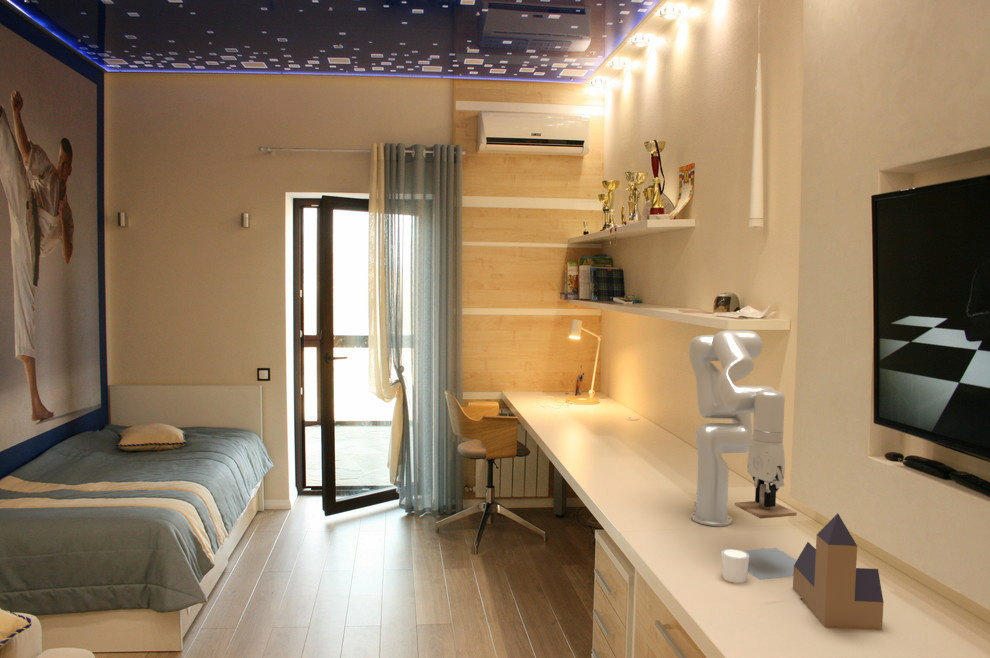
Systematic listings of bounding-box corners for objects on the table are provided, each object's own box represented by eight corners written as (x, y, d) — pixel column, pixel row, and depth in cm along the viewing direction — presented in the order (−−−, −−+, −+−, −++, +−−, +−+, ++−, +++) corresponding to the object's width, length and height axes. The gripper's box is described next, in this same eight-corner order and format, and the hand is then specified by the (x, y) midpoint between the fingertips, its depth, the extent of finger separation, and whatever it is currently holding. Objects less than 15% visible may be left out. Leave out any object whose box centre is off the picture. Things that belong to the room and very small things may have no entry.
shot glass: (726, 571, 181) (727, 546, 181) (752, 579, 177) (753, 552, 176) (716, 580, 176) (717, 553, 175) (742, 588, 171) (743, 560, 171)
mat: (720, 554, 193) (720, 552, 193) (775, 549, 198) (775, 547, 198) (759, 580, 176) (759, 579, 176) (819, 574, 180) (819, 573, 180)
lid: (734, 505, 187) (735, 481, 187) (769, 502, 190) (770, 478, 190) (760, 518, 177) (761, 492, 176) (796, 515, 180) (797, 490, 179)
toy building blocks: (824, 627, 152) (829, 517, 151) (792, 589, 171) (797, 491, 170) (882, 629, 152) (888, 519, 150) (844, 592, 170) (849, 493, 169)
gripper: (737, 431, 189) (734, 496, 190) (775, 444, 174) (772, 515, 175) (760, 430, 191) (758, 494, 192) (800, 442, 176) (797, 513, 177)
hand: (765, 503), depth 183 cm, fingers closed on lid, 3 cm apart
